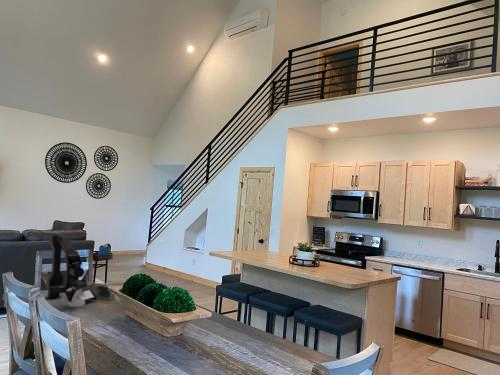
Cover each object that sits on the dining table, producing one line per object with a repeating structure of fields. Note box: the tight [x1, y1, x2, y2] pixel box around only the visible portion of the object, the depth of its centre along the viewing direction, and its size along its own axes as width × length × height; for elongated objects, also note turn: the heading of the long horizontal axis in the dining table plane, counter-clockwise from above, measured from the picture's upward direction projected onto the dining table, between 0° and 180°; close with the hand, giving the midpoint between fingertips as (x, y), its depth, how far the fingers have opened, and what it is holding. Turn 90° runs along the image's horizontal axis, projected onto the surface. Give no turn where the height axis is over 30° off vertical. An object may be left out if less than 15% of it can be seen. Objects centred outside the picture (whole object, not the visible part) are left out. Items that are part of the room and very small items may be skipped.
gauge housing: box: [87, 281, 116, 302], centre depth 231 cm, size 22×4×8 cm, turn 69°
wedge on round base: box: [67, 290, 94, 308], centre depth 217 cm, size 9×7×13 cm
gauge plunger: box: [81, 281, 108, 301], centre depth 226 cm, size 18×6×9 cm, turn 69°
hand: (70, 301), depth 210 cm, fingers closed
